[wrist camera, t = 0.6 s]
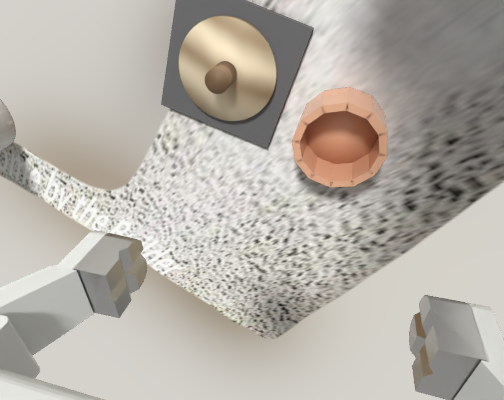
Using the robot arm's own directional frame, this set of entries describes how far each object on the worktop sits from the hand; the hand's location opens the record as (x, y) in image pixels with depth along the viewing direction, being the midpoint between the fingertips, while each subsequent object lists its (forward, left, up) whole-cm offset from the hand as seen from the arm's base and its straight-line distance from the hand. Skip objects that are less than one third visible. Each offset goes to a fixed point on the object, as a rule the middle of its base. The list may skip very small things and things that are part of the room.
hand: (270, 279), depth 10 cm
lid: (+10, -12, -41) cm, 44 cm away
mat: (+10, -12, -42) cm, 45 cm away
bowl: (+12, +6, -42) cm, 44 cm away
